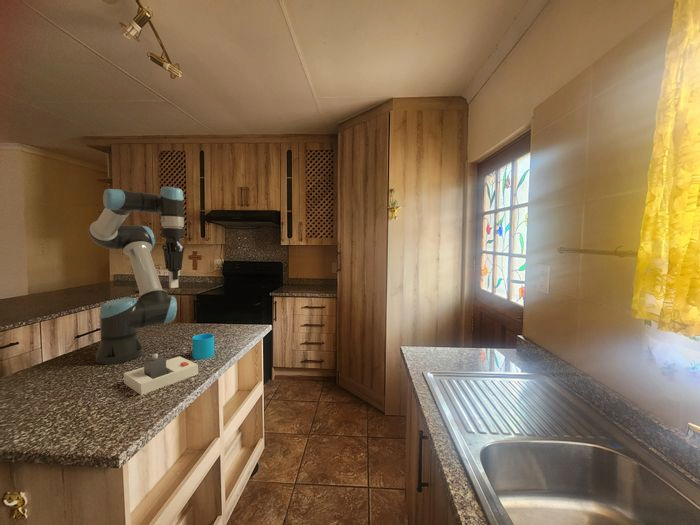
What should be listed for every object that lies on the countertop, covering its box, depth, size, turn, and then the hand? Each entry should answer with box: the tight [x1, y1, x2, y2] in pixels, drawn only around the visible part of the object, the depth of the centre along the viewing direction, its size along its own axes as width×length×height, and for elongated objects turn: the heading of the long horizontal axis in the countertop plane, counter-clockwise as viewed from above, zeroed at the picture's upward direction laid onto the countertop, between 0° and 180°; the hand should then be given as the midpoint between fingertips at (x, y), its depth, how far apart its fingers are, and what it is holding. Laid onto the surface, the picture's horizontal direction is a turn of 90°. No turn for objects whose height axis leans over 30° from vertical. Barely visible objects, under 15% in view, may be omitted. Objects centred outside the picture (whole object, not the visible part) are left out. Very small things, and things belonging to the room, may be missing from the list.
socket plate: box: [123, 355, 199, 396], centre depth 101 cm, size 13×18×4 cm
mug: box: [191, 333, 215, 360], centre depth 124 cm, size 12×8×8 cm
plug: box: [143, 352, 167, 379], centre depth 99 cm, size 5×5×9 cm
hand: (174, 287), depth 116 cm, fingers closed
